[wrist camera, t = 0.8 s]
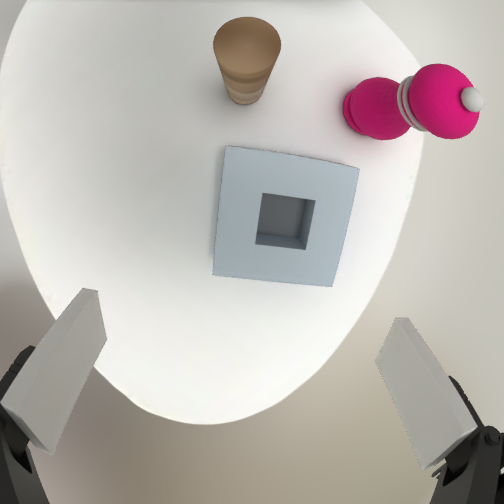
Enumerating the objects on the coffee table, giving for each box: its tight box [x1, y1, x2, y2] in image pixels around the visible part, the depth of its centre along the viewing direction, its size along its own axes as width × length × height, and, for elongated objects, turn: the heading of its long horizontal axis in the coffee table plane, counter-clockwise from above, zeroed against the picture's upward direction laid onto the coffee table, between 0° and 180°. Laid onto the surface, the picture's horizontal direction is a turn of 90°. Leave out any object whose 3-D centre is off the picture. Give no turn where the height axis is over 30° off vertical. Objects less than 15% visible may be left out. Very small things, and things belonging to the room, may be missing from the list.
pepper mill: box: [343, 64, 484, 140], centre depth 21 cm, size 7×7×20 cm
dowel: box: [213, 17, 281, 105], centre depth 21 cm, size 4×4×17 cm
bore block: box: [212, 146, 360, 287], centre depth 32 cm, size 14×14×5 cm
